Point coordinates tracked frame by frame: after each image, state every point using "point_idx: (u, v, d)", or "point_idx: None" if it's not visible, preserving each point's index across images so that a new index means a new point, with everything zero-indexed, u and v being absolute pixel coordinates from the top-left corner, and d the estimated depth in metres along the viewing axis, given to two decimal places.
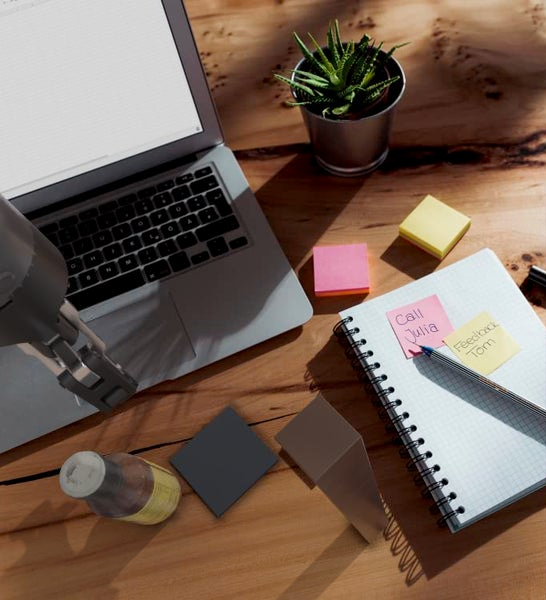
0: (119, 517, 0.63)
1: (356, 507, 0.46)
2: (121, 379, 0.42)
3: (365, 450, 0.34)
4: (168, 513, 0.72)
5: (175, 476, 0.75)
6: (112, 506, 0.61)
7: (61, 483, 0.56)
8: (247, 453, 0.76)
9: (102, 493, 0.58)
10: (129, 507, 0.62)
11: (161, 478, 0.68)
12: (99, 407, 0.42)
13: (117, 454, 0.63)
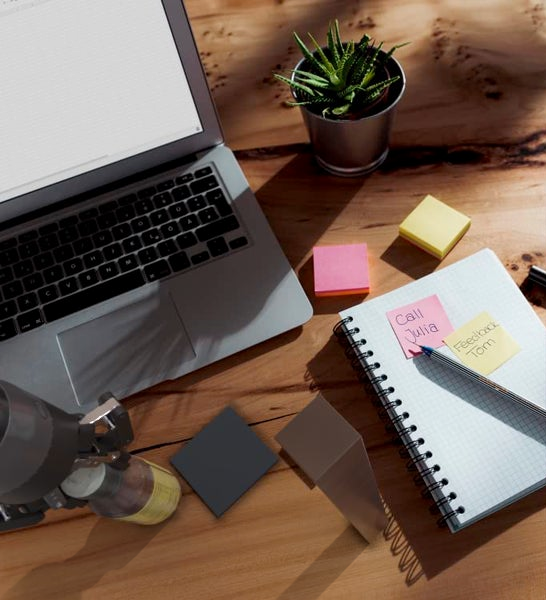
0: (119, 517, 0.63)
1: (356, 507, 0.46)
2: (13, 528, 0.53)
3: (365, 450, 0.34)
4: (168, 513, 0.72)
5: (175, 476, 0.75)
6: (112, 506, 0.61)
7: (61, 483, 0.56)
8: (247, 453, 0.76)
9: (102, 493, 0.58)
10: (129, 507, 0.62)
11: (161, 478, 0.68)
12: None
13: None
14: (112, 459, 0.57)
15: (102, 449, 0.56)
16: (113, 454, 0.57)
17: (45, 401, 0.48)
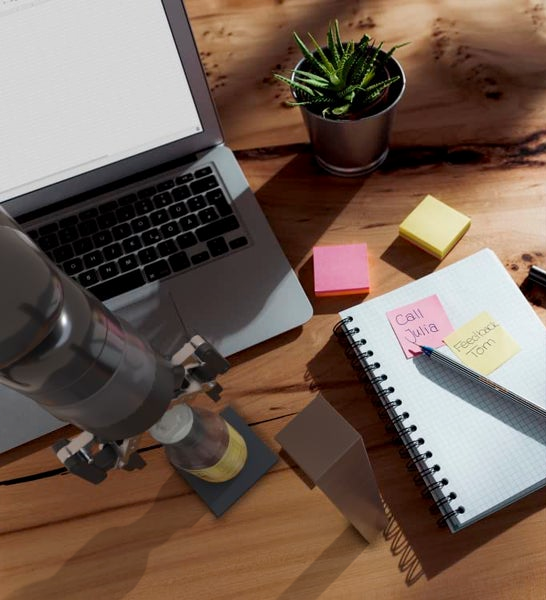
0: (197, 468, 0.64)
1: (356, 507, 0.46)
2: (83, 478, 0.52)
3: (365, 450, 0.34)
4: (236, 471, 0.73)
5: None
6: (193, 456, 0.62)
7: (150, 430, 0.57)
8: None
9: (188, 441, 0.59)
10: (209, 458, 0.63)
11: (233, 434, 0.69)
12: None
13: (196, 407, 0.64)
14: (209, 387, 0.57)
15: (195, 382, 0.56)
16: (211, 382, 0.57)
17: None
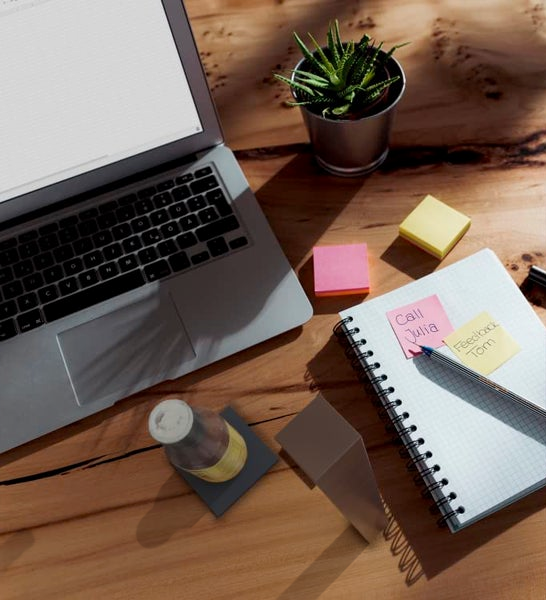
0: (197, 468, 0.64)
1: (356, 507, 0.46)
2: None
3: (365, 450, 0.34)
4: (236, 471, 0.73)
5: None
6: (193, 456, 0.62)
7: (150, 430, 0.57)
8: None
9: (188, 441, 0.59)
10: (209, 458, 0.63)
11: (233, 434, 0.69)
12: None
13: (196, 407, 0.64)
14: None
15: None
16: None
17: None
